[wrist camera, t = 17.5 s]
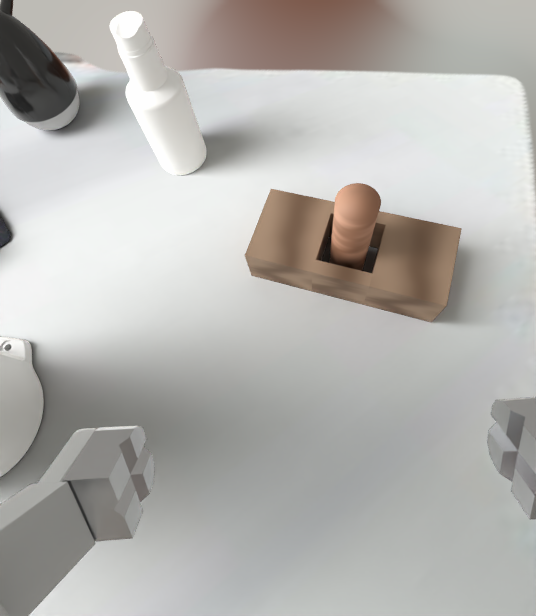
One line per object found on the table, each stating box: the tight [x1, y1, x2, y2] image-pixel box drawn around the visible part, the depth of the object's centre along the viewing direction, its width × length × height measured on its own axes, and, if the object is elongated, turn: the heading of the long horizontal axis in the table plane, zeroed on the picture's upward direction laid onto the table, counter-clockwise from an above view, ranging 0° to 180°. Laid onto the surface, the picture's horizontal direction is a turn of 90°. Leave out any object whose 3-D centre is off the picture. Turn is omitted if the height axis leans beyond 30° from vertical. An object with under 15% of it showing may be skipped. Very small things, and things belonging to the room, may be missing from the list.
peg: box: [329, 183, 381, 271], centre depth 39 cm, size 4×4×12 cm
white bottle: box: [110, 11, 207, 175], centre depth 45 cm, size 7×7×18 cm
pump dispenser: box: [0, 0, 80, 130], centre depth 52 cm, size 10×10×15 cm
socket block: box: [245, 189, 461, 322], centre depth 43 cm, size 21×9×5 cm, turn 72°
